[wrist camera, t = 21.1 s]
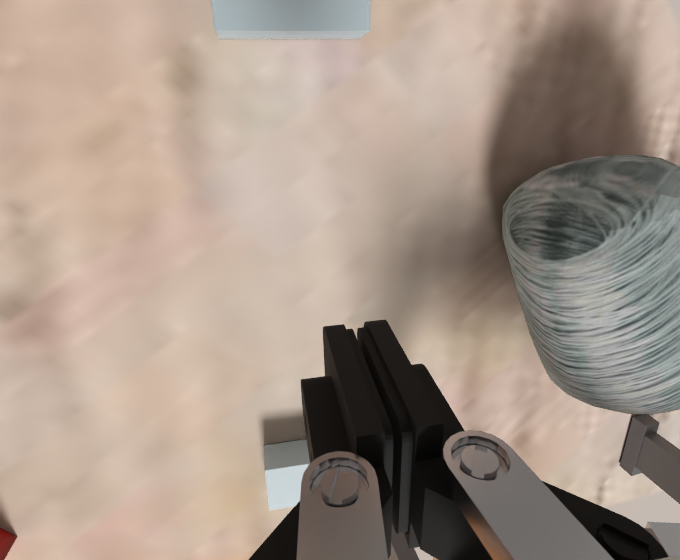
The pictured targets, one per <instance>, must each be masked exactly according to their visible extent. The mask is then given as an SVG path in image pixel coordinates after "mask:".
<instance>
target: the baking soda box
mask: <svg viewBox="0 0 680 560" xmlns="http://www.w3.org/2000/svg"><path fill="white" fill-rule="evenodd" d="M16 538H17V536H15V535H13V534H11V533H9V532H7V531H5V530H3V529H1V528H0V560H4V559H5V557H6V556H7V554H8V552H9V550H10V548H11V547H12V545H13V543H14V541H15V540H16Z"/></svg>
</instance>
